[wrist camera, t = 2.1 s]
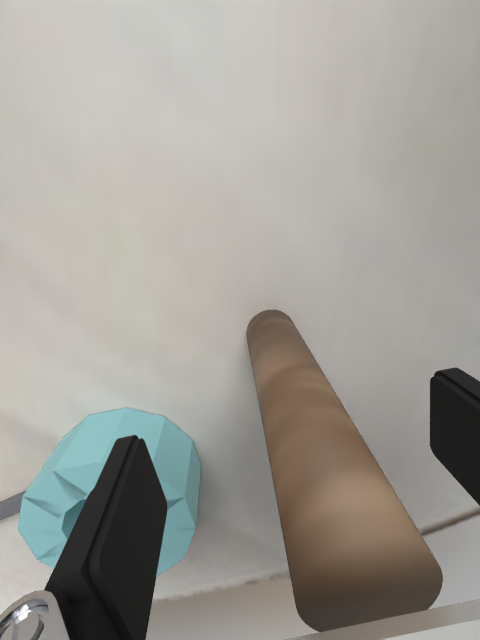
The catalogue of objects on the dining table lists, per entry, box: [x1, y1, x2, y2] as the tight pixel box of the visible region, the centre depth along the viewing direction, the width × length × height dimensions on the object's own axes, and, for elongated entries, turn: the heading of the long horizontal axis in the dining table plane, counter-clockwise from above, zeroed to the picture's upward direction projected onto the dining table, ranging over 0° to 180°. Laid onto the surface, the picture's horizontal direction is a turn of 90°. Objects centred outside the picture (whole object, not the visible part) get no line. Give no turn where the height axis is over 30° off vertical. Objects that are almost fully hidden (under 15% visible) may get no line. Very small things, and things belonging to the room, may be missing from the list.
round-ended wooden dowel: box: [247, 310, 443, 632], centre depth 11 cm, size 3×3×12 cm
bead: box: [18, 408, 201, 577], centre depth 17 cm, size 8×8×4 cm
